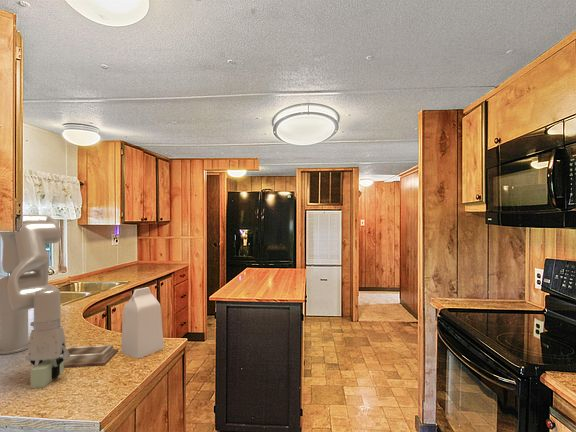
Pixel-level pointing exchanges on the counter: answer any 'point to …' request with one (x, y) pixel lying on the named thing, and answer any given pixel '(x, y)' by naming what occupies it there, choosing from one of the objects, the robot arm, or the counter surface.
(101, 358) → the brown rectangular tray
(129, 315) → the milk
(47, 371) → the bar
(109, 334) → the counter surface
